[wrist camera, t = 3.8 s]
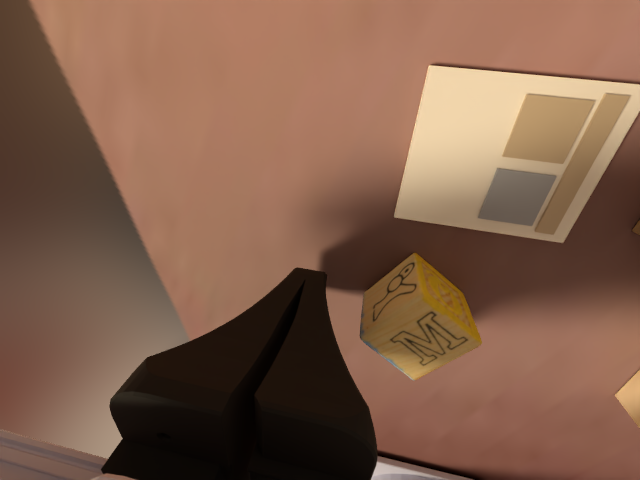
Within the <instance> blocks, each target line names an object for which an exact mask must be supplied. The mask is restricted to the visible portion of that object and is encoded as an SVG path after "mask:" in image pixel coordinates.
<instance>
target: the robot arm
mask: <svg viewBox="0 0 640 480" xmlns="http://www.w3.org/2000/svg"><path fill="white" fill-rule="evenodd" d="M326 280H327V274H326V273H325V272H320V271H314V270H309V269H303V268H295V269H294V270H293V271H292V272H291V273H290V274H289V275H288V276H287V277H286V278H285V279H284V280H283V281H282V282H281V283H280V284H279V285H277V286H276V287H275V288H274V289H273V290H272V291H271V292H269V293H268V294H267V295H266V296H265V297H263V298H262V299H261V300H260V301H258V302H257V303H256V304H254V305H253V306H252V307H250V308H249V309H248V310H246V311H245V312H243V313H242V314H240V315H239V316H237V317H236V318H234V319H233V320H231V321H229V322H227V323H226V324H224V325H222V326H220V327H218V328H217V329H215V330H213V331H211V332H209V333H207V334H205V335H203V336H201V337H199V338H196V339H194V340H192V341H189V342H187V343H185V344H182V345H180V346H177V347H175V348H172V349H169V350H167V351H164V352H161V353H159V354H156V355H153V356H150V357H147V358H146V359H145V360H144V362H142V363H141V365H140V366H139V367H138V368H137V369H136V370H135V371H134V372H133V373H132V374H131V376H130V377H129V378H128V379H127V380H126V382H125V383H124V384H123V385H122V386H121V388H120V389H119V390H118V391H117V392H116V394H115V395H114V396H113V397H112V398H111V401H110V411H111V415H112V417H113V419H114V421H115V423H116V425H117V428H118V430H119V432H120V434H121V436H122V438H123V439H122V440H121V442H120V443H119V445H118V446H117V448H116V449H115V450H114V452H113V453H112V454H111V456H110V457H109V459H106V458H103V457H99V456H95V455H92V454H88V453H84V452H81V451H77V450H74V449H70V448H66V447H63V446H59V445H55V444H52V443H48V442H45V441H41V440H37V439H34V438H30V437H26V436H23V435H19V434H15V433H12V432H8V431H5V430H1V429H0V480H474V479H469V478H465V477H461V476H457V475H453V474H449V473H445V472H441V471H437V470H433V469H429V468H425V467H421V466H417V465H413V464H409V463H404V462H400V461H396V460H392V459H388V458H384V457H380V456H378V454H377V443H376V437H375V432H374V427H373V423H372V419H371V415H370V411H369V407H368V405H367V404H366V402H365V400H364V399H363V397H362V395H361V394H360V392H359V390H358V388H357V386H356V385H355V383H354V381H353V379H352V377H351V375H350V373H349V371H348V368H347V366H346V364H345V362H344V359H343V357H342V355H341V352H340V350H339V347H338V344H337V342H336V338H335V335H334V332H333V329H332V325H331V321H330V317H329V312H328V307H327V300H326Z"/></svg>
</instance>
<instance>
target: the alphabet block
mask: <svg viewBox="0 0 640 480" xmlns="http://www.w3.org/2000/svg"><path fill="white" fill-rule="evenodd" d="M360 338H361V340H362V341H363V342H364V343H365V344H366V345H368V346H369V347H370V348H372V349H373V350H374V351H376V352H377V353H378V354H380V355H381V356H382V357H384V358H385V359H386V360H387V361H388V362H390V363H391V364H392V365H394V366H395V367H396V368H397V369H399V370H400V371H402V372H403V373H405V374H406V375H407V376H408V377H409V378H410V379H412V380H414V381H415V380H417V379H419V378H420V377H422V376H424V375H426V374H428V373H430V372H432V371H433V370H435V369H437V368H439V367H441V366H443V365H445V364H447V363H448V362H450V361H452V360H454V359H456V358H458V357H460V356H462V355H464V354H465V353H467V352H469V351H471V350H473V349H475V348H477V347H478V346H480V345H481V344H482V341H481V338H480V335H479V333H478V330H477V327H476V325H475V322H474V320H473V317H472V315H471V312H470V309H469V307H468V304H467V302H466V299H465V297H464V294H463V293H462V292H461V291H460V290H459V289H458V288H457V287H456V286H454V285H453V284H452V283H451V282H450V281H448V280H447V279H446V278H445V277H444V276H443V275H441V274H440V273H439V272H438V271H437V270H436V269H434V268H433V267H432V266H431V265H430V264H429V263H427V262H426V261H425V260H424V259H423V258H421V257H420V256H419V255H418V254H417V253H413V254H411V255H410V256H409V257H408V258H407V259H405V260H404V261H403V262H402V263H400V264H399V265H398V266H397V267H395V268H394V269H393V270H392V271H391V272H389V273H388V274H387V275H386V276H384V277H383V278H382V279H381V280H379V281H378V282H377V283H376V284H374V285H373V286H372V287H371V288H370V289H368V290H367V291H365V292H364V295H363V305H362V314H361V325H360Z"/></svg>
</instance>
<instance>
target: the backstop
mask: <svg viewBox="0 0 640 480" xmlns="http://www.w3.org/2000/svg"><path fill="white" fill-rule="evenodd" d="M615 396H616V397H617V399H618V400H619V401H620V403H621V404H622V405H623V407H624V408H625V409H626V411H627V412H628V413H629V415H630V416H631V418H632V419H633V420H634V422H635V423H636V424H637V426H638V427H639V428H640V370H639V371H638V372H637V373H636V374H635V375H634V376H633V377H632V378H631V379H630V380H629V381H628V382H627V383H626V384H625V385H624V386H623V387H622V388H621V389H620V390H619V391H618V392H617V393H616V394H615Z"/></svg>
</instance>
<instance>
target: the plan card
mask: <svg viewBox="0 0 640 480" xmlns="http://www.w3.org/2000/svg"><path fill="white" fill-rule="evenodd" d="M639 111H640V85H639V84H628V83H617V82H606V81H596V80H585V79H574V78H563V77H552V76H541V75H530V74H519V73H508V72H497V71H486V70H476V69H465V68H454V67H443V66H432V65H429V66H428V71H427V75H426V79H425V84H424V88H423V92H422V96H421V101H420V105H419V109H418V114H417V118H416V122H415V127H414V131H413V135H412V139H411V144H410V148H409V152H408V157H407V161H406V165H405V170H404V174H403V178H402V182H401V187H400V191H399V195H398V200H397V204H396V208H395V212H394V217H395V218H401V219H408V220H414V221H421V222H427V223H434V224H441V225H447V226H454V227H460V228H467V229H473V230H480V231H487V232H493V233H500V234H506V235H513V236H520V237H526V238H533V239H539V240H546V241H552V242H559V243H563V242H564V241H565V239H566V237H567V235H568V234H569V232H570V230H571V229H572V227H573V225H574V223H575V222H576V220H577V218H578V217H579V215H580V213H581V211H582V210H583V208H584V206H585V204H586V203H587V201H588V199H589V198H590V196H591V194H592V192H593V191H594V189H595V187H596V185H597V184H598V182H599V180H600V179H601V177H602V175H603V173H604V172H605V170H606V168H607V167H608V165H609V163H610V161H611V160H612V158H613V156H614V154H615V153H616V151H617V149H618V148H619V146H620V144H621V142H622V141H623V139H624V137H625V135H626V134H627V132H628V130H629V129H630V127H631V125H632V123H633V122H634V120H635V118H636V117H637V115H638V113H639Z"/></svg>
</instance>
